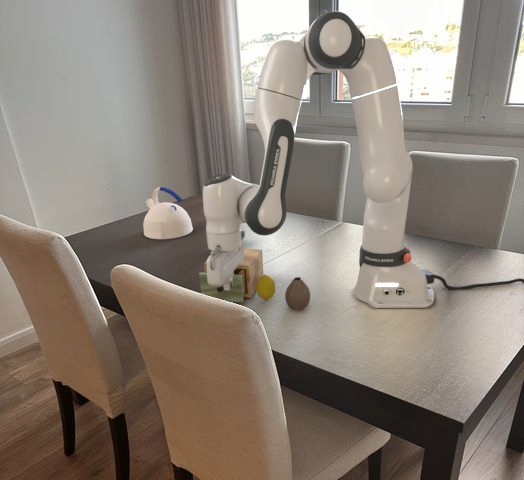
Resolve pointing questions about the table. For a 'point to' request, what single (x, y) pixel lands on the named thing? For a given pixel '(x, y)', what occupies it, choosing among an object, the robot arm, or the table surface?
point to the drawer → (232, 295)
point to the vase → (297, 295)
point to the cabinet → (250, 268)
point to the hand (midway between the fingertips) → (228, 288)
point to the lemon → (265, 287)
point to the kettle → (166, 218)
